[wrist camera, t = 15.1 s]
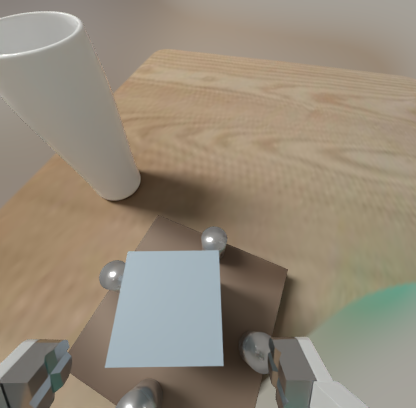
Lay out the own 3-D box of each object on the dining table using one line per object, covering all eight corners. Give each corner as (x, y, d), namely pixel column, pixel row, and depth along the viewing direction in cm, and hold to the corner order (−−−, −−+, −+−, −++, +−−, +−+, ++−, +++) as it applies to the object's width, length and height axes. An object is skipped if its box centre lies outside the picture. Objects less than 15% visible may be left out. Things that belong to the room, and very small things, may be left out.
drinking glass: (150, 162, 26) (95, 8, 14) (145, 206, 23) (65, 54, 10) (98, 165, 26) (-8, 11, 13) (85, 209, 23) (-75, 59, 10)
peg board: (162, 223, 22) (150, 198, 18) (280, 274, 19) (301, 259, 15) (75, 361, 16) (25, 374, 11) (232, 467, 13) (243, 537, 9)
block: (161, 281, 17) (128, 251, 10) (214, 281, 17) (218, 250, 10) (154, 347, 14) (104, 367, 8) (216, 346, 14) (223, 365, 8)
